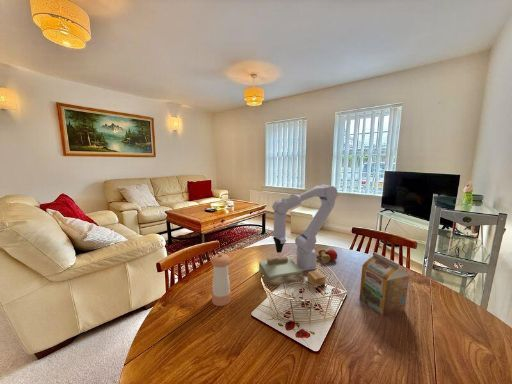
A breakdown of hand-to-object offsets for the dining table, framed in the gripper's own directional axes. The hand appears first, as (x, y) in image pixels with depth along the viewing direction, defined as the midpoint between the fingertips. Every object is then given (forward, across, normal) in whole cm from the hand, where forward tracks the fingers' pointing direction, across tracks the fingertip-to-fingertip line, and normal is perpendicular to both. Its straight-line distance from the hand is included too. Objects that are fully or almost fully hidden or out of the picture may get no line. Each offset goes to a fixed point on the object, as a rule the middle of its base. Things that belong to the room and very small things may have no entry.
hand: (278, 252), depth 104 cm
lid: (+6, +5, -1) cm, 7 cm away
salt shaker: (+10, +19, -28) cm, 35 cm away
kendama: (+10, -7, +25) cm, 28 cm away
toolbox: (+10, +5, 0) cm, 11 cm away
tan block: (+9, +13, +14) cm, 21 cm away
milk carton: (+10, +30, +33) cm, 45 cm away
